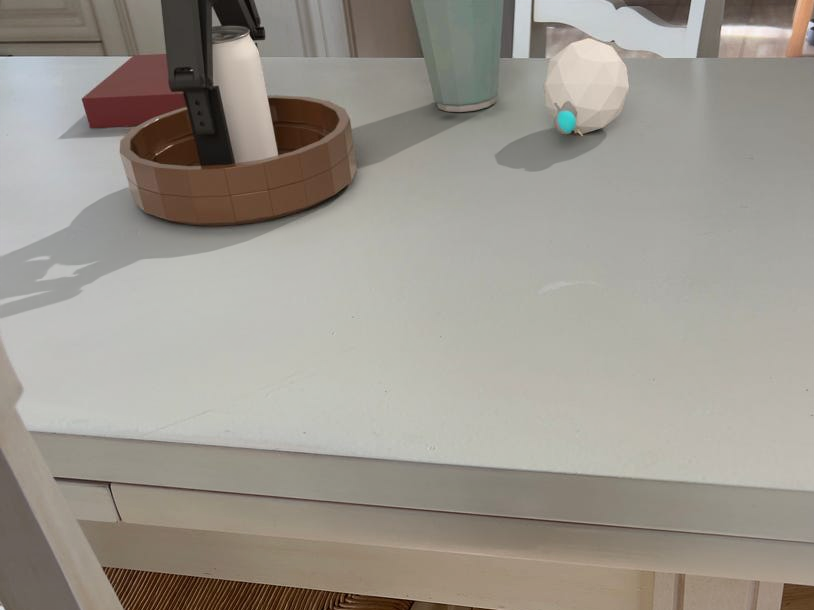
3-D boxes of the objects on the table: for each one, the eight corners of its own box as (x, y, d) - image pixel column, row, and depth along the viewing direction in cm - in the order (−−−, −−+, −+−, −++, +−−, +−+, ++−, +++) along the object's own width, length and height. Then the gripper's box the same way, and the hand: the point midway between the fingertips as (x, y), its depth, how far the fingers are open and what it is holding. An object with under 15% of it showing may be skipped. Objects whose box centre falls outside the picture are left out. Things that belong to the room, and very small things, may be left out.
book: (89, 128, 108) (80, 98, 106) (140, 82, 122) (133, 54, 120) (200, 123, 107) (193, 92, 105) (240, 77, 120) (234, 49, 118)
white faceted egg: (652, 77, 97) (628, 134, 90) (585, 125, 102) (557, 183, 95) (605, 6, 94) (575, 59, 86) (538, 59, 99) (505, 114, 91)
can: (222, 168, 94) (190, 25, 86) (289, 166, 93) (263, 22, 86) (200, 194, 89) (164, 45, 82) (271, 192, 88) (242, 42, 81)
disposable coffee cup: (468, 125, 101) (457, -47, 91) (392, 109, 107) (373, -55, 97) (534, 97, 107) (530, -68, 97) (459, 83, 113) (447, -74, 103)
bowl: (104, 234, 85) (85, 174, 82) (173, 154, 100) (160, 100, 97) (336, 225, 83) (326, 164, 80) (371, 145, 98) (364, 90, 95)
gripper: (177, -133, 66) (247, 194, 80) (263, -170, 85) (307, 100, 98) (66, -125, 67) (154, 198, 80) (176, -164, 85) (232, 104, 99)
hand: (239, 145), depth 89 cm, fingers open, 12 cm apart
